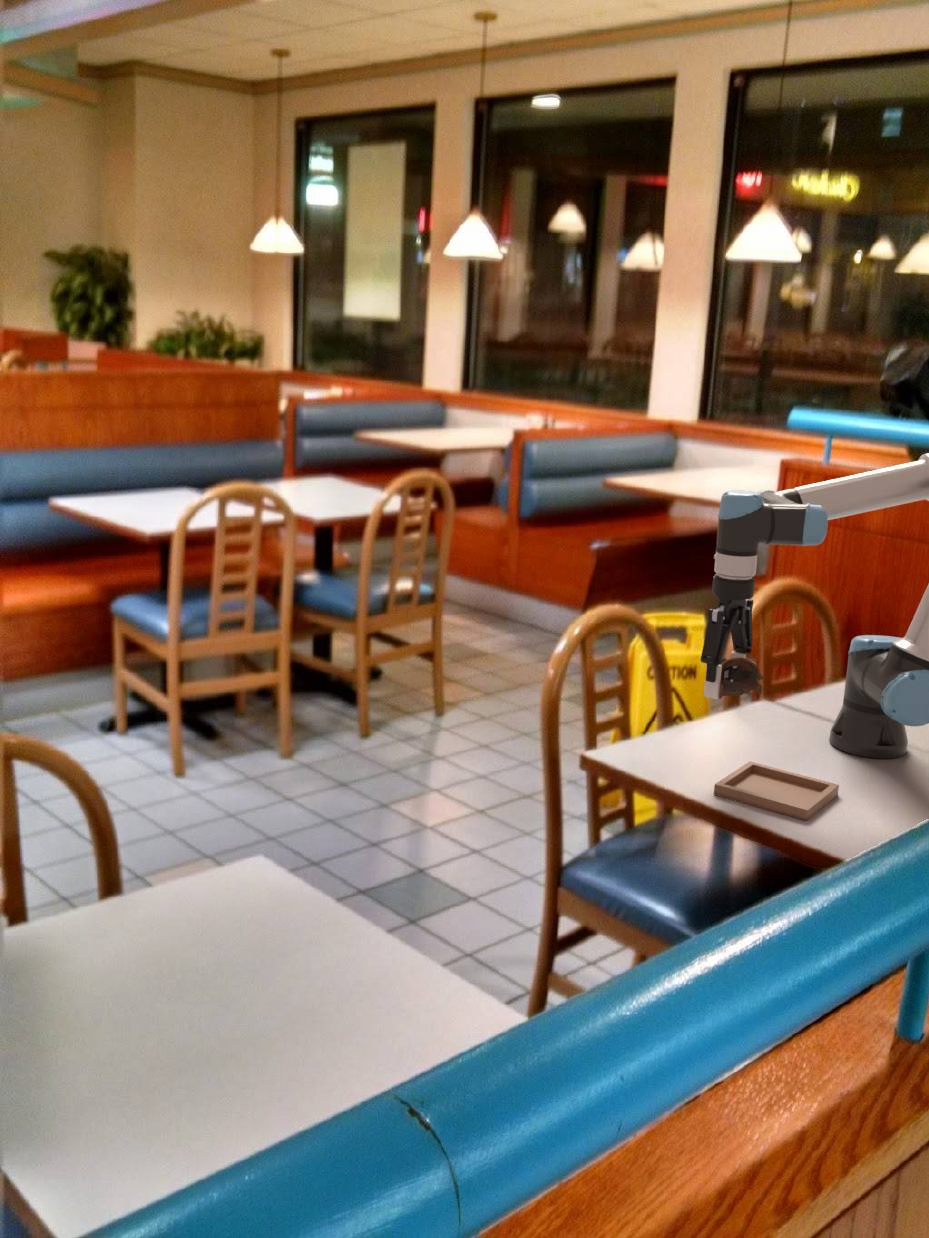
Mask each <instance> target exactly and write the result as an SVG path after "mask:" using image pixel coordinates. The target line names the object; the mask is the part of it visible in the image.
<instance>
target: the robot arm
mask: <svg viewBox="0 0 929 1238" xmlns="http://www.w3.org/2000/svg"><path fill="white" fill-rule="evenodd" d="M919 501H927V502H929V452H927V453H923V454H921V456H920V457H919V458H918V460H916V461H912V462H911V461H910V462H906V463H902V464H897V465H893V466H889V467H883V468H879V469H876V470H871V471H870V470H869V471H865V472H862V473H856V474H851V475H849V476H843V477H838V478H834V479H829V480H825V481H820V482H816V483H811V484H806V485H801V486H797V487H794V488H787V489H784V490H778V491H774V490H770V489H769V490H767V489H766V490H759V491H754V490H752V491H751V490H741V489H738V490H737V489H734V490H727V491H725V492H724V493H723V494H722V495H721V498H720V503H719V510H718V515H717V518H718V519H717V520H718V521H717V522H718V523H717V534H716V547H715V554H714V555H713V559H714V569H713V570H714V572H715V573H716V574H714V576H713V579H712V587H711V588H712V589H711V592H712V595H713V596H715V597H717V599H718V602H717V606H716V609H713V608H710V609H709V610H708V619H707V621H708V622H707V626H706V630H705V634H704V635H705V636H704V642H703V646H702V651H701V656H700V662H701V663H702V664H706V666H705V667H706V668H705V678H704V688H703V689H704V691H703V697H705V698H708V699H713V700H720V699H719V691H720V680H721V669H722V665H719V664H720V660H721V658H723V657H722V656H723V654H724V651H725V648H726V643H727V641H728V636H729V634H730V635H731V641H732V647H733V651H731V652H730V658H729V659H731V658H745V659H747V658H746V656H747V655H746V654H749V655H751V654H752V651H753V650H752V647H753V607H754V600H753V599H752V598H753V597H754V594H755V592H754V591H755V583H756V579H755V576H756V575H757V565H758V554H759V546H760V545H774V546H775V545H777V546H778V545H779V546H802V547H806V546H807V547H808V546H819V545H820V544H822V543H823V542H824V540H825V539H826V537H827V533H828V528H829V527H828V526H829V521H831V520H835V519H840V518H841V519H842V518H844V517H849V516H854V515H858V514H863V513H867V512H873V511H877V510H882V509H887V508H891V507H897V506H900V505H904V504H905V505H906V504H909V503H910V504H911V503H914V502H919ZM847 654H848V658H847V665H846V667H847V668H846V675H845V681H844V682H845V684H844V692H843V702H842V706H841V708H840V710H839V712H838V714H837V716H836V719H835V720H834V722H833V724H832V726H831V728H830V733H829V739H828V741H829V743H830V745H832V746H833V747H834V748H835V749H837V750H840V751H842V752H845V753H848V754H851V755H854V756H859V757H863V758H864V757H865V758H871V759H895V758H896V759H897V758H900V757H902V756H904V755H906V754H907V750H908V745H909V744H908V743H909V741H908V734H907V731H906V726H907V727H924V726H926V725H928V724H929V583H928V585H927V586H926V589H925V591H924V593H923V595H922V598H921V599H920V602H919V603H918V607H917V608H916V611H915V613H914V615H913V618H912V620H911V623H910V624H909V627H908V629H907V630H906V633H905V635H904V636H903V637H896V636H890V635H878V634H877V635H876V634H871V635H870V634H864V635H857V636H855V637H853V638H852V639H851V642H850V646H849V650H848V652H847ZM733 668H737V666H733ZM731 682H733V680H731Z"/></svg>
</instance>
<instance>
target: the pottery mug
mask: <svg viewBox="0 0 929 1238" xmlns="http://www.w3.org/2000/svg"><path fill="white" fill-rule="evenodd" d="M730 658H731V657H730ZM730 658H725V657H721V660H720V664H719V665H722V669H721V680H720V691H719V699H718V700H721V699H722V697H731V696H733V697H735V696H743V695H744V694H748V693H750V692H752V691H755V692H756V693H757V694H758V695H762V691H763V685H762V683H760V680H764V676H763V674H762V673H761V671H760V669H758V667H757V665H756V664H755V662H753V661H751V660H750V659H748V658H731V659H730ZM733 666H737V668H733ZM731 680H733V682H731Z"/></svg>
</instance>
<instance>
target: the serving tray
mask: <svg viewBox="0 0 929 1238" xmlns="http://www.w3.org/2000/svg"><path fill="white" fill-rule="evenodd" d="M713 787H714V788H713V795H714V794H715V795H714V796H717V795H719V796H718V797H721V796H722V797H721V798H723V799H724V798H725V799H727V800H730V801H731V800H732V801H735V800H736V801H735V802H738V801H739V802H738V803H741V802H743V804H745V803H746V804H745V805H748V804H749V805H748V806H752V807H756V808H760V809H763V810H767V811H769V812H773V813H776V812H777V814H781V815H784V816H787V817H791V818H794V819H798V820H801V821H805V822H807V821H809V820H810V819H811V818H812V817H813V816H815V815H816V814H817V813H818V812H819V811H820V810H822V809H823V808H824V807H826V805H828V803H830V802H831V801H833V800H834V799H835V798H837V796H838V795H839V790H840V788H839V787H840V785H839V784H836V783H833V782H829V781H826V780H821V779H818V778H814V777H810V776H806V775H802V774H800V773H795V772H791V771H789V770H784V769H781V768H780V769H779V768H777V767H772V766H770V765H769V766H768V765H766V764H761V763H757V762H755V761H750V760H749V761H748V762H746V763H745V764H743V765H741V766H740V767H738V769H735V770H733V772H731V773H729V774H728V775H727V776H725V777H724V778H722V779H721V780H719V781H717V782H716V783H714V786H713Z"/></svg>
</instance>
